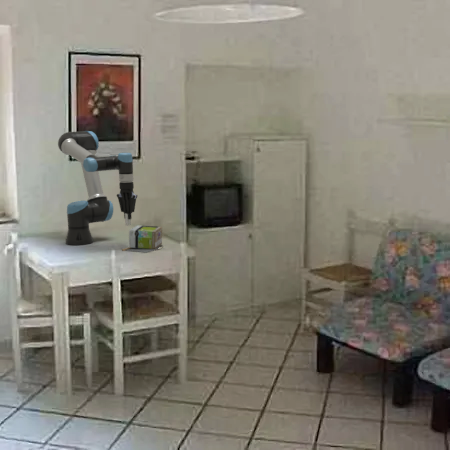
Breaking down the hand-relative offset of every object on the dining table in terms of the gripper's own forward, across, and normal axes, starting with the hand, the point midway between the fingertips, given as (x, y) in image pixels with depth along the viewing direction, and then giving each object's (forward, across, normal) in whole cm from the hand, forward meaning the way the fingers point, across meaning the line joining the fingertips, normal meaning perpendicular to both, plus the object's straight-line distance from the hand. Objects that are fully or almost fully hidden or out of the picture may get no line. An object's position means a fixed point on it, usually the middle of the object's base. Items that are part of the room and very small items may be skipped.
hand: (128, 225), depth 413 cm
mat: (+12, +12, 0) cm, 17 cm away
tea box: (+6, +1, +2) cm, 7 cm away
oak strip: (+12, +4, 0) cm, 13 cm away
